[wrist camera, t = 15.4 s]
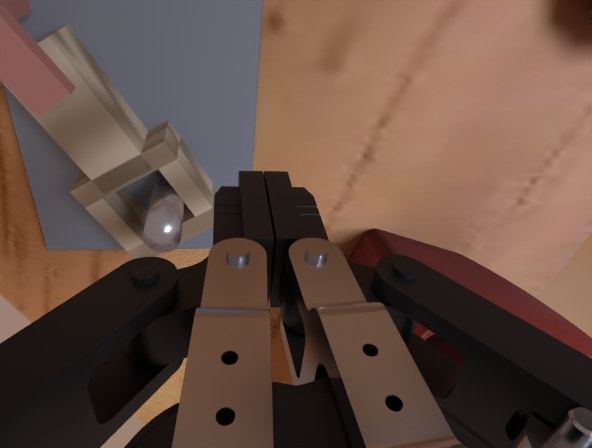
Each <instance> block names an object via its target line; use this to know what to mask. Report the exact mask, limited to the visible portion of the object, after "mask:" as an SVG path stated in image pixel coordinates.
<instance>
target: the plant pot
mask: <svg viewBox="0 0 592 448" xmlns="http://www.w3.org/2000/svg"><path fill="white" fill-rule="evenodd" d="M395 254H396V255H405V256H408V257H411V258H414V259H416V260H418V261H420V262H422V263H423V264H425V265H427V266H429V267H430V268H432V269H434V270H436V271H438V272H439V273H441V274H443V275H445V276H446V277H448V278H450V279H452V280H454V281H455V282H457V283H459V284H461V285H462V286H464V287H466V288H468V289H469V290H471V291H473V292H475V293H477V294H478V295H480V296H482V297H484V298H485V299H487V300H489V301H491V302H493V303H494V304H496V305H498V306H500V307H501V308H503V309H505V310H507V311H508V312H510V313H512V314H514V315H516V316H517V317H519V318H521V319H523V320H524V321H526V322H528V323H530V324H532V325H533V326H535V327H537V328H539V329H540V330H542V331H544V332H546V333H547V334H549V335H551V336H553V337H555V338H556V339H558V340H560V341H562V342H563V343H565V344H567V345H569V346H571V347H572V348H574V349H576V350H578V351H579V352H581V353H583V354H585V355H586V356H588V357H590V358H592V338H591V337H589V336H588V335H587V334H586V333H584V332H583V331H582V330H580V329H579V328H577V327H576V326H575V325H574V324H572V323H571V322H569V321H568V320H567V319H565V318H564V317H563V316H561V315H560V314H558V313H557V312H555V311H554V310H552V309H551V308H550V307H548V306H547V305H545V304H544V303H542V302H540V301H539V300H538V299H536V298H535V297H533V296H532V295H530V294H529V293H527V292H526V291H524V290H522V289H521V288H519V287H518V286H516V285H514V284H513V283H511V282H509V281H508V280H506V279H504V278H503V277H501V276H499V275H498V274H496V273H494V272H492V271H491V270H489V269H487V268H485V267H483V266H482V265H480V264H478V263H476V262H474V261H473V260H471V259H469V258H467V257H465V256H463V255H461V254H458V253H455V252H452V251H448V250H445V249H442V248H439V247H435V246H432V245H428V244H425V243H422V242H419V241H415V240H412V239H409V238H406V237H402V236H399V235H396V234H392V233H389V232H386V231H382V230H379V229H373V230H370V231H368V232H367V233H366V234H365V235H364V236H363V238H362V239H361V241H360V243H359V244H358V246H357V248H356V249H355V251H354V253H353V254H352V256H351V257H350V259H349V261H350V262H353V263H357V264H361V265H366V266H371V267H375V268H376V265H377V262H378V261H379V260H380V259H381V258H382V257H384V256H387V255H395ZM414 333H415V334H416V335H418V336H419V337H421V338H422V339H424V340H425V341H427V342H428V343H430V344H431V345H433V346H434V347H436V348H437V349H439V350H440V351H442V352H443V353H445V354H446V355H448V356H449V357H451V358H452V359H454V360H455V361H457V362H458V363H460V364H463V365H465V360H464V357H463V355H462V354H461V352H460V351H459V350H458V349H457V348H455V347H454V346H453V345H451V344H449V343H448V342H446V341H445V340H443V339H442V338H440V337H439V336H437V335H436V334H434V333H433V332H431V331H430V330H428V329H427V328H425V327H424V326H422V325H420V324H419V323H417V325H416V327H415V330H414Z"/></svg>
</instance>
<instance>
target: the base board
mask: <svg viewBox="0 0 592 448" xmlns="http://www.w3.org/2000/svg"><path fill="white" fill-rule="evenodd" d="M262 2H263V0H29V3H30V8H31V14H29V15H27V16H25V17H22V18H20V19H18V20H17V21H18V22H19V24H20V25H21V26H22V27H23V28H24V29H25V30H26V32H27V33H28V34H29V35H30V36H31V37H32V38H33V39H34V41H35V42H36V43H38V42H39V41H41V40H43V39H44V38H46V37H48V36H49V35H51V34H53V33H54V32H56V31H58V30H59V29H61V28H63V27H64V26H66V25H68V24H69V26H70V27H71V29H72V30H73V31H74V33H75V34H76V35H77V37H78V38H79V39H80V41H81V42H82V43H83V45H84V46H85V47H86V49H87V50H88V51H89V53H90V54H91V55H92V57H93V58H94V59H95V61H96V62H97V63H98V65H99V66H100V67H101V69H102V70H103V71H104V73H105V74H106V75H107V77H108V78H109V79H110V81H111V82H112V83H113V85H114V86H115V87H116V89H117V90H118V91H119V93H120V94H121V95H122V97H123V98H124V99H125V101H126V102H127V104H128V105H129V106H130V108H131V109H132V110H133V112H134V113H135V114H136V116H137V117H138V118H139V120H140V121H141V122H142V124H143V125H144V126H145V128H146V129H147V130H148V131H149V130H151V129H153V128H155V127H157V126H159V125H160V124H162V123H164V122H166V121H168V120H169V121H170V123H171V124H172V125H173V127H174V128H175V130H176V131H177V133H178V134H179V135H180V137H181V138H182V140H183V141H184V143H185V144H186V145H187V147H188V148H189V150H190V151H191V153H192V154H193V155H194V157H195V158H196V160H197V161H198V163H199V164H200V165H201V167H202V168H203V170H204V171H205V173H206V174H207V175H208V177H209V178H210V180H211V181H212V183H213V184H214V185H215V187H216V188H217V190H219V189H220V187H221V186H238V174H239V171H252V166H253V149H254V133H255V116H256V100H257V84H258V67H259V51H260V34H261V18H262ZM3 87H4V91H5V94H6V98H7V102H8V106H9V109H10V113H11V117H12V121H13V124H14V128H15V132H16V135H17V139H18V143H19V147H20V150H21V154H22V158H23V162H24V165H25V169H26V173H27V177H28V180H29V184H30V188H31V191H32V195H33V199H34V203H35V206H36V210H37V214H38V218H39V221H40V225H41V229H42V233H43V236H44V240H45V244H46V247H47V250H108V249H124V248H123V247H122V246H121V245H120V244H119V242H118V241H117V240H116V239H115V238H114V237H113V236H112V235H111V234H110V233H109V232H108V231H107V230H106V229H105V228H104V227H103V226H102V225H101V224H100V223H99V222H98V221H97V220H96V219H95V218H94V217H93V216H92V215H91V214H90V213H89V212H88V211H87V210H86V209H85V208H84V207H83V205H82V204H81V203H80V202H79V201H78V200H77V199H76V198H75V197H74V196H73V195H72V194H71V193H70V190H71V188H72V187H73V185H74V183H75V181H76V179H77V177H78V176H79V174H80V172H81V169H80V167H79V166H78V165H77V164H76V163H75V162H74V161H73V160H72V159H71V158H70V156H69V155H68V154H67V153H66V152H65V151H64V150H63V149H62V148H61V147H60V146H59V144H58V143H57V142H56V141H55V140H54V139H53V138H52V137H51V136H50V135H49V134H48V132H47V131H46V130H45V129H44V128H43V127H42V126H41V125H40V124H39V123H38V121H37V120H36V119H35V118H34V117H33V116H32V115H31V114H30V113H29V112H28V111H27V109H26V108H25V107H24V106H23V105H22V104H21V103H20V102H19V101H18V100H17V98H16V97H15V96H14V95H13V94H12V93H11V92H10V91H9V90H8V89H7V88H6V86H5V85H4V84H3ZM158 171H159V169H158V170H156V171H154V172H152V173H150V174H148V175H146V176H144V177H142V178H141V179H139V180H137V181H135V182H133V183H131V184H129V185H127V186H125V187H126V188H127V189H128V190H129V191H130V192H131V194H132V195H133V196H134V197H135V198H136V199H137V201H138V202H139V203H140V204H141V205H142V206H143V208H144V209H145V210H146V211H147V212H148V209H149V205H150V201H151V196H152V192H153V187H154V183H155V178H156V175H157V173H158ZM212 247H213V227H212V228H210V229H208V230H206V231H204V232H202V233H200V234H198V235H196V236H194V237H192V238H190V239H188V240H186V241H184V242H182V243H180V244H179V245H178V247H176V248H175V249H194V248H212Z"/></svg>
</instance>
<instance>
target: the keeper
mask: <svg viewBox="0 0 592 448" xmlns="http://www.w3.org/2000/svg"><path fill="white" fill-rule="evenodd" d="M29 14H31V8H30V3H29V0H0V79H1V80H2V81H3V82H4V83H5V84H6V85H7V86H8V87H9V88H10V89H11V90H12V91H13V92H14V93H15V94H16V95H17V96H18V97H19V98H20V99H21V100H22V101H23V102H24V103H25V104H26V105H27V106H28V107H29V108H30V109H31V110H32V111H33V112H34V113H35V114H36V115H37V116H38V115H40V114H41V113H43V112H44V111H46V110H47V109H49V108H50V107H52V106H53V105H55V104H56V103H58V102H59V101H61V100H62V99H64V98H65V97H67V96H68V95H70V94H71V93H72V92H73V91H74V90H75V88H76V87H75V86H74V84H73V83H72V82H71V81H70V80H69V79H68V78H67V77H66V75H65V74H64V73H63V72H62V71H61V70H60V69H59V68H58V66H57V65H56V64H55V63H54V62H53V61H52V60H51V59H50V57H49V56H48V55H47V54H46V53H45V52H44V51H43V50H42V48H41V47H40V46H39V45H38V44H37V43H36V42H35V41H34V39H33V38H32V37H31V36H30V35H29V34H28V33H27V32H26V30H25V29H24V28H23V27H22V26H21V25H20V24H19V22H18V21H17V20H18V19H20V18H22V17H25V16H27V15H29Z"/></svg>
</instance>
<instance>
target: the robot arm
mask: <svg viewBox="0 0 592 448" xmlns="http://www.w3.org/2000/svg"><path fill="white" fill-rule="evenodd" d="M269 300H270V307H280V308H281V323H280V332H281V337H282V341H283V345H284V349H285V353H286V357H287V361H288V365H289V369H290V373H291V378H292V382H293V385H289V384H283V383H277V382H272V368H271V329H270V310H269V309H268V302H269ZM417 323H419V324H420V325H422V326H424V327H425V328H427V329H428V330H430V331H431V332H433V333H434V334H436V335H437V336H439V337H440V338H442V339H443V340H445V341H446V342H448V343H449V344H451V345H453V346H454V347H455V348H457V349H458V350H459V351H460V352H461V354H462V355H463V357H464V360H465V365H463V364H460V363H458V362H457V361H455V360H454V359H452V358H451V357H449V356H448V355H446V354H445V353H443V352H442V351H440V350H439V349H437V348H436V347H434V346H433V345H431V344H430V343H428V342H427V341H425V340H424V339H422V338H421V337H419V336H418V335H416V334H415V333H414V330H415V327H416V325H417ZM186 357H187V362H186V368H185V374H184V379H183V385H182V391H181V397H180V403H177V404H175V405H173V406H172V407H170V408H168V409H166V410H165V411H163V412H162V413H160V414H159V415H158V416H156V417H155V418H153V419H152V420H151V421H150V422H149V423H147V424H146V425H145V426H144V427H143V428H142V429H141V430H140V431H139V432H138V433H137V434H136V435H135V436H134V437H133V438H132V439H131V441H130V442H129V443H128V444H127V445H126V446H125V447H124V448H592V358H590V357H588V356H586V355H585V354H583V353H581V352H579V351H578V350H576V349H574V348H572V347H571V346H569V345H567V344H565V343H563V342H562V341H560V340H558V339H556V338H555V337H553V336H551V335H549V334H547V333H546V332H544V331H542V330H540V329H539V328H537V327H535V326H533V325H532V324H530V323H528V322H526V321H524V320H523V319H521V318H519V317H517V316H516V315H514V314H512V313H510V312H508V311H507V310H505V309H503V308H501V307H500V306H498V305H496V304H494V303H493V302H491V301H489V300H487V299H485V298H484V297H482V296H480V295H478V294H477V293H475V292H473V291H471V290H469V289H468V288H466V287H464V286H462V285H461V284H459V283H457V282H455V281H454V280H452V279H450V278H448V277H446V276H445V275H443V274H441V273H439V272H438V271H436V270H434V269H432V268H430V267H429V266H427V265H425V264H423V263H422V262H420V261H418V260H416V259H414V258H411V257H408V256H405V255H396V254H395V255H387V256H384V257H382V258H381V259H380V260H379V261H378V262H377V265H376V268H375V267H371V266H366V265H361V264H357V263H353V262H350V261H348V260H346V259H345V257H344V255H343V253H342V251H341V249H340V248H339V247H338V246H336V245H335V244H334V243H332V242H330V241H329V240H328V237H327V234H326V231H325V228H324V225H323V222H322V219H321V217H320V216H319V211H318V208H317V205H316V202H315V199H314V196H313V195H312V194H311V193H309V192H308V191H307V190H306V189H305V188H304V187H292V186H291V182H290V179H289V175H288V172H279V171H264V173H263V172H262V171H239V174H238V186H221V187H220V189H219V190H218V191H217V192H216V193H215V195H214V222H213V247H212V248H211V250H210V252H209V256H208V257H207V258H206V259H204V260H203V261H201V262H199V263H198V264H195V265H193V266H189V267H186V268H181V269H177V268H176V267H175V265H174V264H173V263H171V262H170V261H168V260H166V259H163V258H159V257H142V258H137V259H133V260H131V261H128V262H126V263H125V264H123V265H121V266H120V267H118V268H117V269H115V270H113V271H112V272H110V273H109V274H107V275H106V276H104V277H103V278H101V279H100V280H98V281H96V282H95V283H93V284H92V285H90V286H89V287H87V288H86V289H84V290H82V291H81V292H79V293H78V294H76V295H75V296H73V297H72V298H70V299H69V300H67V301H65V302H64V303H62V304H61V305H59V306H58V307H56V308H55V309H53V310H52V311H50V312H48V313H47V314H45V315H44V316H42V317H41V318H39V319H38V320H36V321H35V322H33V323H31V324H30V325H28V326H27V327H25V328H24V329H22V330H21V331H19V332H17V333H16V334H14V335H13V336H11V337H10V338H8V339H7V340H5V341H4V342H2V343H1V344H0V448H100V447H101V446H102V445H103V444H104V443H105V442H106V441H107V440H108V439H109V438H110V437H111V436H112V435H113V434H114V433H115V432H116V431H117V430H118V429H119V428H120V427H121V426H122V425H123V424H124V423H125V422H126V421H127V420H128V419H129V418H130V417H131V416H132V415H133V414H134V413H135V412H136V411H137V410H138V409H139V408H140V407H141V406H142V405H143V404H144V403H145V402H146V401H147V400H148V399H149V398H150V397H151V396H152V395H153V394H154V393H155V392H156V391H157V390H158V389H159V388H160V387H161V386H162V385H163V384H164V383H165V382H166V381H167V380H168V379H169V378H170V377H171V376H172V375H173V374H174V373H175V372H176V371H177V370H178V369H179V367H180V366H181V364H182V362H183V359H184V358H186Z"/></svg>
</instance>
